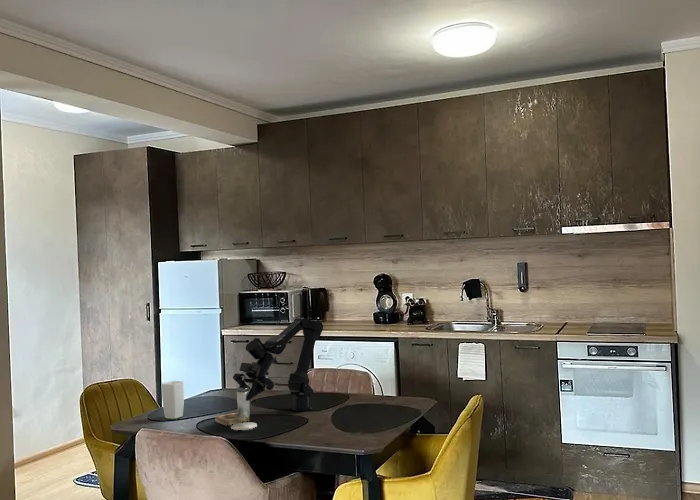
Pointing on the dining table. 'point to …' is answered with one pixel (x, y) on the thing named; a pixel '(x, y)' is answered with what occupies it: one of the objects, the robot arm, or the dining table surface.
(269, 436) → the dining table surface
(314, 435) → the dining table surface
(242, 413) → the glass jar
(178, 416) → the cup
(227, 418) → the oak collar
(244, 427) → the disc
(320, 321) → the robot arm
